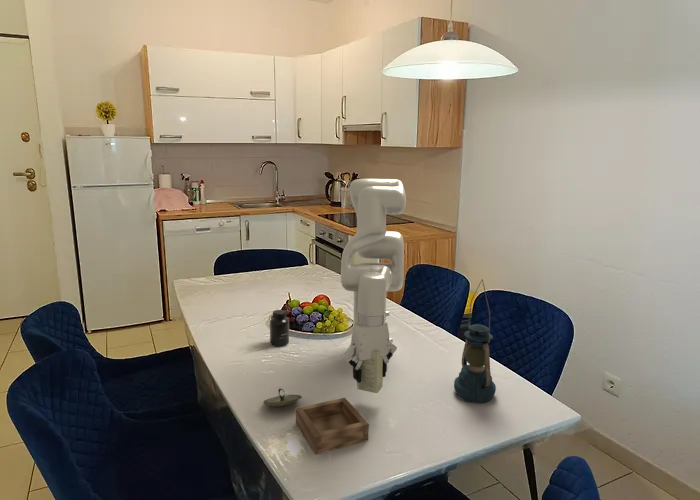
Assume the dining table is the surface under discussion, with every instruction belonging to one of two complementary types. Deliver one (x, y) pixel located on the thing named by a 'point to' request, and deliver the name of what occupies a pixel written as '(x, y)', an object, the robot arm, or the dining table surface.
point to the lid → (282, 400)
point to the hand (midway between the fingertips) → (369, 377)
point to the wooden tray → (331, 425)
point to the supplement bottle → (279, 329)
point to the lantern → (476, 365)
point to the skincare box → (372, 373)
